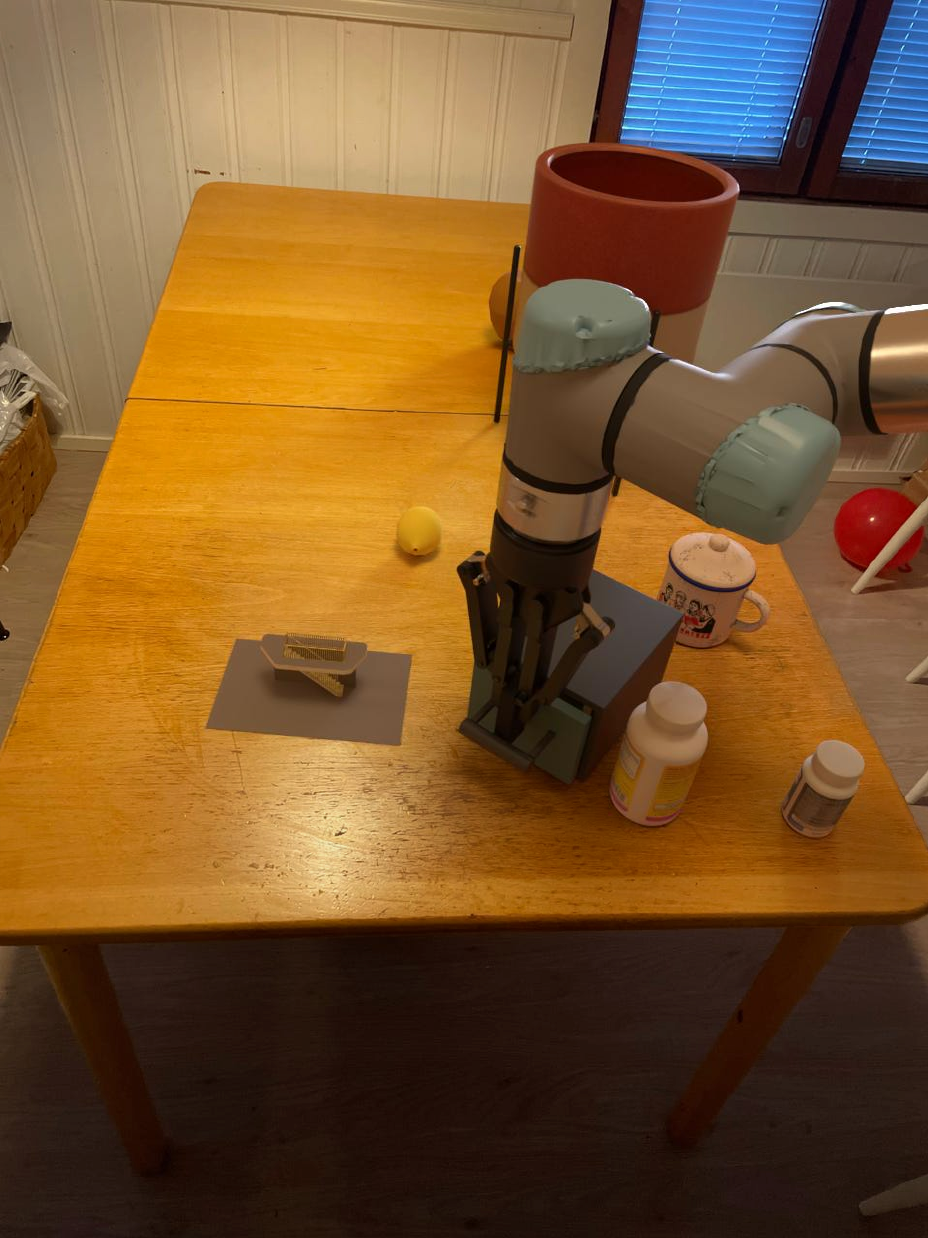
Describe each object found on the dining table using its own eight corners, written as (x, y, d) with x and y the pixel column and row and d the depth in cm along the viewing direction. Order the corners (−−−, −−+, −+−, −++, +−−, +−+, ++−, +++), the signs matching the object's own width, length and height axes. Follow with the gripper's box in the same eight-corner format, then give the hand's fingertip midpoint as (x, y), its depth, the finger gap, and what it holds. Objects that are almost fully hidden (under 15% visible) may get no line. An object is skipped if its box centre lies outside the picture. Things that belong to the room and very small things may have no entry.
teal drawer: (539, 822, 75) (554, 761, 70) (433, 755, 80) (439, 692, 74) (643, 694, 88) (663, 633, 82) (547, 641, 92) (559, 581, 86)
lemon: (400, 528, 106) (402, 491, 102) (445, 534, 106) (448, 497, 102) (390, 565, 101) (391, 527, 97) (436, 571, 100) (439, 533, 97)
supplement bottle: (691, 789, 80) (731, 694, 72) (665, 842, 76) (705, 747, 67) (624, 757, 83) (655, 660, 74) (595, 806, 78) (624, 709, 69)
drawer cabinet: (583, 783, 80) (604, 708, 73) (471, 715, 85) (480, 639, 78) (659, 686, 90) (684, 613, 83) (555, 631, 95) (570, 557, 88)
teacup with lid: (635, 622, 97) (659, 537, 89) (675, 584, 102) (702, 501, 94) (733, 677, 92) (768, 593, 84) (770, 634, 97) (806, 551, 89)
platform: (400, 745, 81) (402, 697, 77) (205, 727, 81) (196, 678, 77) (411, 654, 90) (414, 607, 86) (236, 638, 90) (230, 589, 85)
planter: (527, 500, 112) (572, 209, 88) (485, 402, 130) (513, 138, 106) (697, 492, 117) (784, 213, 93) (634, 398, 135) (693, 144, 111)
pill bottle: (843, 835, 78) (881, 777, 72) (795, 842, 77) (830, 784, 71) (817, 791, 81) (851, 733, 76) (771, 797, 80) (802, 738, 75)
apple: (472, 331, 148) (478, 262, 140) (539, 322, 152) (549, 255, 145) (507, 366, 139) (515, 295, 132) (577, 355, 144) (589, 286, 136)
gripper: (440, 500, 61) (422, 723, 77) (604, 582, 56) (548, 802, 72) (501, 457, 65) (473, 675, 81) (657, 529, 60) (594, 747, 76)
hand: (508, 735), depth 77 cm, fingers closed
